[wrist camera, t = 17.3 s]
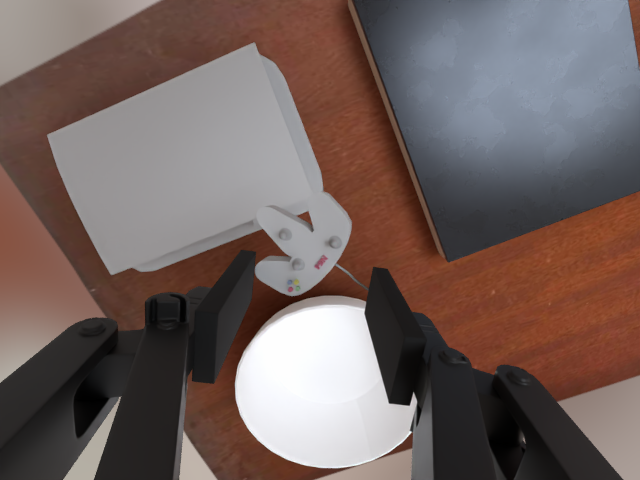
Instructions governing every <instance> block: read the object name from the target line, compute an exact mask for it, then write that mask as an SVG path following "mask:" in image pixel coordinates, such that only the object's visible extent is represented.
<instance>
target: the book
mask: <svg viewBox="0 0 640 480" xmlns="http://www.w3.org/2000/svg"><path fill="white" fill-rule="evenodd" d="M47 136H48V140H49V143H50V146H51V149H52V152H53V155H54V159H55V162H56V165H57V168H58V170H59V172H60V175H61V177H62V179H63V182H64V184H65V187H66V189H67V191H68V194H69V196H70V198H71V200H72V202H73V204H74V207H75V209H76V211H77V213H78V215H79V217H80V219H81V221H82V223H83V225H84V227H85V229H86V231H87V233H88V235H89V236H90V238H91V240H92V242H93V244H94V246H95V248H96V250H97V252H98V254H99V255H100V257H101V259H102V260H103V262H104V264H105V265H106V267H107V269H108V270H109V272H110V274H111V275H113V274H116V273H119V272H121V271H124V270H126V269H129V268H131V267H132V268H134V269H136V270H138V271H140V272H146V271H155V270H158V269H160V268H163V267H165V266H168V265H171V264H173V263H176V262H178V261H181V260H183V259H186V258H189V257H191V256H194V255H196V254H199V253H201V252H204V251H207V250H209V249H212V248H214V247H217V246H219V245H222V244H225V243H227V242H230V241H232V240H235V239H237V238H240V237H243V236H245V235H248V234H250V233H253V232H255V231H258V230H261V229H263V228H262V227H261V226H260V224H259V223H258V221H257V217H256V214H257V211H258V209H260V208H261V207H265V206H270V205H274V206H278V207H280V208H282V209H284V210H286V211H287V212H289V213H291V214H293V215H295V216H297V215H299V214H302V213H304V212H307V211H309V210H308V205H307V202H308V199H309V197H310V196H311V195H312V194H313V193H316V192H322V191H323V183H322V175H321V171H320V169H319V166H318V163H317V161H316V158H315V156H314V153H313V150H312V148H311V145H310V143H309V140H308V137H307V135H306V132H305V130H304V127H303V124H302V122H301V119H300V116H299V114H298V111H297V109H296V106H295V103H294V101H293V98H292V96H291V93H290V90H289V88H288V85H287V83H286V80H285V78H284V76H283V75H282V73H281V72H280V70H279V69H278V67H277V66H276V64H275V63H274V62H272V61H271V60H269V59H267V58H265V57H264V56H262V55H260V54H259V53H258V50H257V47H256V44H255V42H254V43H251V44H249V45H247V46H245V47H242V48H240V49H238V50H236V51H234V52H231V53H229V54H227V55H225V56H222V57H220V58H218V59H216V60H213V61H211V62H209V63H207V64H204V65H202V66H200V67H198V68H196V69H193V70H191V71H189V72H187V73H184V74H182V75H180V76H178V77H175V78H173V79H171V80H169V81H167V82H164V83H162V84H160V85H158V86H155V87H153V88H151V89H149V90H146V91H144V92H142V93H140V94H137V95H135V96H133V97H131V98H129V99H126V100H124V101H122V102H120V103H117V104H115V105H113V106H111V107H108V108H106V109H104V110H102V111H100V112H97V113H95V114H93V115H91V116H88V117H86V118H84V119H82V120H79V121H77V122H75V123H73V124H70V125H68V126H66V127H64V128H62V129H59V130H57V131H55V132H53V133H50V134H48V135H47Z"/></svg>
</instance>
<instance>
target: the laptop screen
mask: <svg viewBox="0 0 640 480" xmlns="http://www.w3.org/2000/svg"><path fill="white" fill-rule="evenodd" d="M352 3H353V5H354V8H355V11H356V14H357V16H358V19H359V22H360V25H361V27H362V30H363V33H364V36H365V38H366V41H367V44H368V47H369V49H370V52H371V55H372V58H373V60H374V63H375V66H376V69H377V71H378V74H379V77H380V80H381V82H382V85H383V88H384V91H385V93H386V96H387V99H388V102H389V105H390V107H391V110H392V113H393V116H394V118H395V121H396V124H397V127H398V129H399V132H400V135H401V138H402V140H403V143H404V146H405V149H406V151H407V154H408V157H409V160H410V162H411V165H412V168H413V171H414V173H415V176H416V179H417V182H418V184H419V187H420V190H421V193H422V195H423V198H424V201H425V204H426V206H427V209H428V212H429V215H430V217H431V220H432V223H433V226H434V228H435V231H436V234H437V237H438V239H439V242H440V245H441V248H442V251H443V253H444V256H445V259H446V260H447V262H451V261H454V260H457V259H459V258H462V257H465V256H467V255H470V254H473V253H475V252H478V251H481V250H483V249H486V248H489V247H491V246H494V245H497V244H499V243H502V242H505V241H507V240H510V239H513V238H515V237H518V236H521V235H523V234H526V233H529V232H531V231H534V230H537V229H539V228H542V227H545V226H547V225H550V224H553V223H556V222H558V221H561V220H564V219H566V218H569V217H572V216H574V215H577V214H580V213H582V212H585V211H588V210H590V209H593V208H596V207H598V206H601V205H604V204H606V203H609V202H612V201H614V200H617V199H620V198H622V197H625V196H628V195H630V194H633V193H636V192H638V191H640V69H639V62H638V56H637V50H636V44H635V38H634V32H633V26H632V20H631V14H630V8H629V2H628V0H352Z"/></svg>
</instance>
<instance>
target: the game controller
mask: <svg viewBox="0 0 640 480" xmlns="http://www.w3.org/2000/svg"><path fill="white" fill-rule="evenodd" d="M307 205H308V210H309V213H310V217H311V221H312V224H313V227H312V226H311V225H310V224H309V223H308V222H306V221H304V220H302V219H300V218H299V217H297V216H295V215H293V214H291V213H289V212H287V211H286V210H284V209H282V208H280V207H278V206H274V205H270V206H265V207H261V208H260V209H258V211H257V214H256V217H257V221H258V223H259V224H260V226H261V227H262V228H263V229H264V230H265V231H266V233H267V234H268V235H269V236H270V237H271V238H272V239H273V240H274V242H275V243H276V244H277V245H278V246H279V247H280V248H281V250H282V251H283V252H285V253H286V254H287V255H289V256H290V257H285V256H268V257H266V258H265V259H263V260H262V261H260V262H259V263H258V264H257V265H256V267H255V274H256V276H257V278H258V279H259V280H260V281H262V282H264V283H265V284H267V285H269V286H270V287H272V288H274V289H275V290H277V291H279V292H280V293H283V294H286V295H289V296H296V295H300V294H302V293H304V292H306V291H308V290H310V289H311V288H312V287H313V286H315V285H316V284H317V283H318V282H320V281H321V280H322V279H323V278H324V277H325V275H326V274H327V273H328V272H329V271H330V270H331V269H332V267H333V266H334V265H336V266H337V267H339V268H340V269H341V270H343V271H344V272H346V273H347V274H348V275H349V276H350V277H351V278H352V279H353V280H354V281H355V282H357V283H358V284H359V285H361V286H362V287H363V288H365V289H366V290H368V291H369V289H368V288H367V287H366V286H364V285H363V284H361V283H360V282H359V281H357V280H356V279H355V278H354V277H353V276H352V275H351V274H350V273H349V272H348V271H346V270H345V269H344V268H342V267H341V266H339V265H338V264H336V262H337V261H338V259H339V258H340V256H341V254H342V252H343V250H344V249H345V247H346V245H347V242H348V239H349V236H350V233H351V228H352V221H351V219H350V218H349V216H348V214H347V212H346V211H345V210H344V209H343V208H342V207H341V206H340V205H339V204H338V203H337V202H336V201H335V199H334V198H333V197H332V196H331V195H330V194H329V193H327V192H316V193H313V194H312V195H311V196H310V197H309V199H308V202H307ZM313 228H314V229H313Z"/></svg>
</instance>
